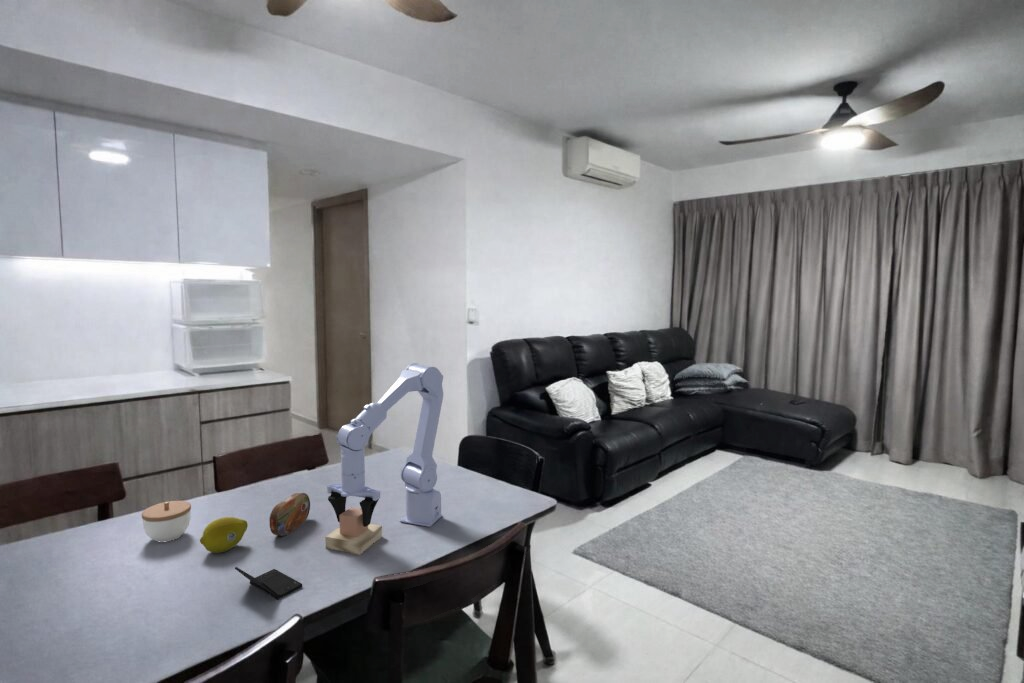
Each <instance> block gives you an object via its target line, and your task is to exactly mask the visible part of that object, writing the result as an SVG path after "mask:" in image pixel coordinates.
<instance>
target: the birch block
mask: <svg viewBox="0 0 1024 683" xmlns="http://www.w3.org/2000/svg"><path fill="white" fill-rule="evenodd" d="M382 537H383V526H382V525H381V524H380V525H379V524H374V523H370V524H369V525H368V529H367V530H365V531H364V532H363V533H361V534H360V535H359V536H357V537H354V536H349V535H344V534H340V526H339V527H337V528H336V529H334V530H333V531H331V532H330V533H329V534H327V535H325V549H329V548H331V549H330V550H334V549H335V550H334V551H339V550H340V551H339V552H344V551H345V553H349V552H350V553H349V554H353V555H359V556H360V555H361V554H363V553H364V552H366V550H367V549H369V548H370V547H371V546H373V545H374V544H375V543H376V542H377V541H378V540H380V539H381V538H382ZM373 543H374V544H373ZM363 551H364V552H363Z"/></svg>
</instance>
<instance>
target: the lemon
mask: <svg viewBox="0 0 1024 683" xmlns="http://www.w3.org/2000/svg"><path fill="white" fill-rule="evenodd" d="M248 524H249V523H248V522H247V520H245V519H240V518H238V517H234V516H226V517H221V518H217V519H215V520H213V521H211V522H210V523H208V524H207V526H205V528H204V530H203V533H202V536H201V537H200V539H199V543H200V544H201V545H202V546H203V547H204V548H205V550H206V551H208V552H210V553H216V554H217V553H220V554H221V553H224V552H228V551H229V550H231V549H233V548H234V547H235V546H237V545H238V544H239V543H240V541H241V540H242V539H243V537H244V534H245V533H246V531H247V529H248Z"/></svg>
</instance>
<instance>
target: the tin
mask: <svg viewBox="0 0 1024 683" xmlns="http://www.w3.org/2000/svg"><path fill="white" fill-rule="evenodd" d="M310 511H311V500H310V496H309V495H308V494H307V493H306V492H301V493H299V492H296V493H295V492H294V493H292V494H291V495H290V496H287V498H285V499H284V500H282V501H280V502H279V503H277V504H276V505H275V506H274V507H273V508H272V510H271V512H270V515H269V529H270V532H271V533H272V534H273V535H274V536H281V537H286V536H288V535H290V534H291V533H292V532H294V531H295V530H296V529H298V528H299V527H300V526H301V525H302V524H304V523H305V522H306V520H307V519H308V518H309V517H308V516H309V514H310ZM295 528H296V529H295ZM290 532H291V533H290ZM287 534H288V535H287Z"/></svg>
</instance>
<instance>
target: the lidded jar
mask: <svg viewBox="0 0 1024 683" xmlns="http://www.w3.org/2000/svg"><path fill="white" fill-rule="evenodd" d="M191 509H192V505H191V502H189V501H185V500H171V501H163V502H159V503H157V504H154V505H151V506H149V507H146V508H145V509H144V510H143V511H142V512H141V519H142V525H143V529H144V531H145V532H144V533H145V534H146V536H148V537H149V539H151V540H153V541H154V540H155V541H160V542H164V541H170V540H173V541H175V540H174V539H176V540H178V539H179V537H180V536H181V535H182V536H183V534H184V533H185V532H186V531H187V529H188V528H189V526H190V523H191V517H192V516H191V515H192V514H191V513H192V512H191V511H192V510H191ZM182 536H181V537H182ZM181 537H180V538H181ZM177 538H178V539H177ZM155 541H154V542H155ZM170 542H171V541H170Z"/></svg>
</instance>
